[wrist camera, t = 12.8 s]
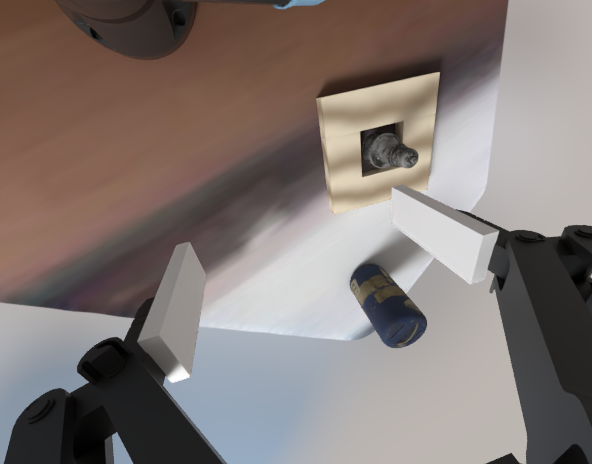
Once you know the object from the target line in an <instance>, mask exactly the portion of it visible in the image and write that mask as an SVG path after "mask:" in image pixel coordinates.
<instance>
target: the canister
mask: <svg viewBox="0 0 592 464" xmlns="http://www.w3.org/2000/svg"><path fill="white" fill-rule="evenodd" d="M350 288H351V291H352V292H353V294H354V295H355V297H356V299H357V300H358V302H359V304H360V305H361V307H362V309H363V310H364V312H365V314H366V315H367V317H368V318H369V320H370V322H371V323H372V325H373V327H374V328H375V330H376V331H377V333H378V334H379V336H380V338H381V339H382V341H383V342H384V343H385V344H386V345H387V346H389V347H391V348H402V347H405V346H408V345H410V344H412V343H413V342H415V341H416V340H418V339H419V338H420V337H421V336H422V335H423V333H424V332H425V330H426V327H427V320H426V318H425V316H424V315H423V313H422V312H421V311H420V310H419V309H418V307H417V306H416V305H415V304H414V303H413V302H412V300H411V299H410V298H409V297H408V296H407V295H406V294H405V292H404V291H403V290H402V289H401V288H400V287H399V286H398V285H397V284H396V283H395V281H394V280H393V279H392V278H391V277H390V276H389V275H388V274H387V272H386V271H385V270H384V269H383V268H381V267H380V266H377V265H367V266H364V267H362V268H360V269H359V270H357V271H356V272H355V273H354V274H353V276H352V278H351V280H350Z"/></svg>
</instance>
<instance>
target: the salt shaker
mask: <svg viewBox="0 0 592 464" xmlns="http://www.w3.org/2000/svg"><path fill="white" fill-rule="evenodd" d="M361 151H362V156H363V158H364V159H365V160H366V161H368V162H371V163H372V164H373V165H374V166H375V167H377V168H386V167H388V166H390V165H391V166H393V167H398V166H400V167H403V168H412V167H413V166H414V165H416V163H417V162H418V158H419V155H418V152H417V151H416V150H415V149H412V148H408V147H407V146H406V145H405V144H403V143H400V140H399V139H398V137H397V136H396V135H395V134H392V133H384V134H382V133H373V134H371V135H369V136H368V137H367V138H366V139H365V141H364V142H363V145H362V149H361Z"/></svg>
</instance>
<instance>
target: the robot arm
mask: <svg viewBox="0 0 592 464" xmlns="http://www.w3.org/2000/svg"><path fill="white" fill-rule="evenodd" d="M55 1H56V3H57V4H58V5H59V7H60V8H61V9H62V10H63V12H64V13H65V14H66V15H67V16H68V17H69V19H70V20H71V21H72V22H73V23H74V24H75V25H76V26H77V27H79V28H80V29H81V30H82V31H83V32H84V33H86V34H87V35H88V36H89V37H91V38H92V39H93V40H95V41H96V42H98V43H99V44H101V45H103V46H105V47H106V48H108V49H110V50H113V51H115V52H117V53H119V54H122V55H124V56H127V57H131V58H135V59H142V60H153V59H158V58H162V57H165V56H167V55H169V54H171V53H173V52H174V51H176V50H177V49H178V48H179V47H180V46H181V45H182V44H183V43H184V41H185V40H186V38H187V37H188V35H189V33H190V31H191V28H192V25H193V22H194V17H195V10H196V2H212V3H236V4H261V5H273V7H274V8H277V9H286V8H288V7H291V6H306V5H317V4H320V3H321V2H323V1H325V0H55ZM391 224H392V225H393V226H395V227H396V228H397V229H399V230H400V231H401V232H403V233H404V234H405V235H406V236H408V237H409V238H410V239H412V240H413V241H414V242H416V243H417V244H418V245H419V246H421V247H422V248H423V249H425V250H426V251H427V252H429V253H430V254H431V255H432V256H434V257H435V258H436V259H438V260H439V261H440V262H442V263H443V264H444V265H446V266H447V267H448V268H449V269H451V270H452V271H454V272H455V273H456V274H457V275H459V276H460V277H461V278H462V279H464V280H465V281H466V282H468V283H469V284H470V285H471V284H474V283H477V282H480V281H483V280H485V277H486V274H487V271H488V270H489V271H491V272H492V273H494V274H495V275H494V278H493V281H492V285H491V288H490V293H492V292H493V290H494V289H495V291H496V296H497V300H498V305H499V309H500V314H501V318H502V323H503V327H504V331H505V336H506V341H507V345H508V350H509V354H510V359H511V363H512V368H513V372H514V377H515V381H516V385H517V390H518V395H519V399H520V404H521V408H522V412H523V417H524V422H525V426H526V431H527V450H526V463H527V464H592V278H590V276H591V274H592V226H586V225H572V226H568V227H565V228H564V231H563V233H562V235H561V236H559V237H545V236H543V235H541V234H539V233H536V232H532V231H526V230H515V231H511V232H509V231H507V230H505V229H503V228H501V227H499V226H497V225H494V224H492V223H490V222H488V221H486V220H485V221H484V219H481V218H479V217H476V216H475V215H473V214H471V213H469V212H466V211H461V210H457V209H453V208H451V207H449V206H447V205H445V204H443V203H441V202H438V201H436V200H434V199H432V198H430V197H428V196H426V195H424V194H422V193H420V192H418V191H416V190H413V189H411V188H409V187H407V186H405V185H403V184H401V185H398V186H394V187H392V199H391ZM206 277H207V276H206V274H205V272H204V270H203V268H202V266H201V264H200V262H199V260H198V258H197V256H196V254H195V252H194V250H193V248H192V246H191V244H190V242H186V243H183V244H179V245H176V247H175V250H174V252H173V255H172V257H171V260H170V262H169V264H168V267H167V269H166V272H165V274H164V277H163V279H162V282H161V284H160V287H159V289H158V292H157V294H156V296H155V297H154V298H150V299H147V300H146V301H145V302H144V303H143V304H142V306H141V307H140V308H139V309H138V311H137V313H136V316H135V319H134V320H133V322H132V324H131V327H130V329H129V331H128V333H127V335H126V337H125V339H124V341H122V340H121V339H120V338H118V337H113V338H108V339H106V340H103V341H101V342H100V343H98V344H96V345H95V346H94V347H92V348H91V349H90V350H89V351H88V352H87V353H86V354H85V355H84V356H83V357H82V358H81V360H80V362H79V364H78V366H77V372H78V373H79V374H80V375H81V376H83V377H84V378H85V379H86V380H87V381H89V383H87V384H86V385H84V386H82V387H80V388H78V389H77V390H75V391H73V392H71V393H68V392H67V391H66V390H64V389H61V388H58V389H53V390H51V391H49V392H47V393H45V394H43V395H42V396H40V397H39V398H38V399H36V400H35V401H33V402H32V403H31V404H30V405H29V406H28V407H27V408H26V409H25V410H24V411H23V412H22V414H21V415H20V416H19V418H18V419H17V421H16V423H15V425H14V427H13V430H12V434H11V438H10V442H9V446H8V450H7V454H6V458H5V461H4V464H114V456H113V443H112V435H113V434H115V433H116V432H117V433H118V435H119V436H120V438H121V440H122V442H123V444H124V446H125V448H126V450H127V452H128V454H129V456H130V457H131V460H132V461H133V464H227V463H226V462H225V461H224V459H223V458H222V457H221V456H220V455H219V454H218V452H217V451H216V450H215V449H214V447H213V446H212V445H211V444H210V442H209V441H208V440H207V439H206V438H205V436H204V435H203V434H202V433H201V432H200V430H199V429H198V428H197V427H196V425H195V424H194V423H193V422H192V421H191V419H190V418H189V417H188V416H187V414H186V413H185V412H184V411H183V410H182V408H181V407H180V406H179V405H178V403H177V402H176V401H175V400H174V399H173V397H172V396H171V395H170V394H169V393H168V391H167V390H166V389H165V388H164V387H163V383H164V379H165V376H166V377H167V378H168V379H169V380H170V381H171V383H173V382H176V381H179V380H183V379H185V378H188V377H191V371H192V365H193V358H194V352H195V346H196V340H197V333H198V327H199V321H200V315H201V308H202V302H203V296H204V289H205V283H206ZM487 464H520V463H519V462H518V461H517V459H516V458H515V457H514V456H513V454H512V453H510V454H508V455H505V456H503V457H501V458H498V459H496V460H494V461H491V462H489V463H487Z"/></svg>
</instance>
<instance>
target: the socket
mask: <svg viewBox="0 0 592 464" xmlns="http://www.w3.org/2000/svg"><path fill="white" fill-rule="evenodd" d="M439 76H440V72H436V73H430V74H425V75H420V76H416V77H411V78H406V79H402V80H397V81H393V82H388V83H384V84H379V85H374V86H370V87H365V88H361V89H356V90H352V91H347V92H342V93H338V94H333V95H329V96H324V97H320V98H316V100H317V108H318V116H319V125H320V133H321V141H322V149H323V158H324V166H325V174H326V182H327V191H328V199H329V207H330V211H331V212H332V213H333V214H334V215H336V214H339V213H343V212H347V211H350V210H354V209H358V208H361V207H365V206H368V205H372V204H376V203H379V202H383V201H387V200H390V199H392V187H394V186H398V185H401V184H403V185H405V186H407V187H409V188H411V189H413V190H416V191H418V192H419V191H423V190H427V189H428V180H429V171H430V161H431V152H432V143H433V133H434V124H435V114H436V105H437V95H438V86H439ZM392 123H395V135H396V136H397V137H398V139H399V140H400V143H403V144H405V145H406V146H407V147H408V148H412V149H415V150H416V151H417V152H418V155H419V158H418V162H417V163H416V165H414V166H413V167H412V168H403V167H400V166H398V167H393V166H391V165H390V166H388V167H386V168H377V169H373V170H370V171H366V172H362V167H361V143H360V131H363V130H367V129H371V128H376V127H380V126H384V125H388V124H392Z"/></svg>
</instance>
